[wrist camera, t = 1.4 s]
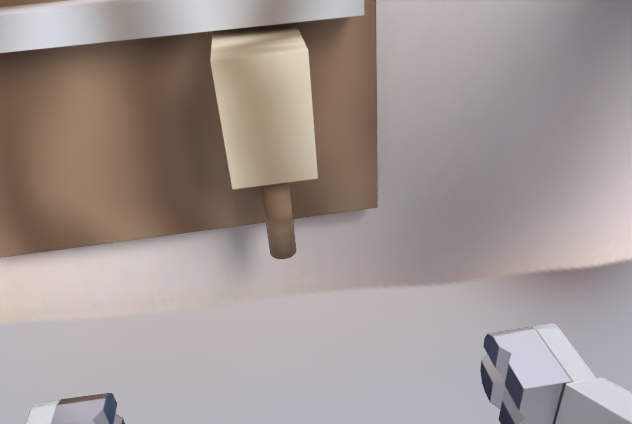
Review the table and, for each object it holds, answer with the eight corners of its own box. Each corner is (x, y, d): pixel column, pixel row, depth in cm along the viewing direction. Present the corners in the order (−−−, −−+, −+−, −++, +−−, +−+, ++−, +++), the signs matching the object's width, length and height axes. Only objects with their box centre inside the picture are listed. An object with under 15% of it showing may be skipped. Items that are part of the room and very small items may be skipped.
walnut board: (368, -51, 27) (387, -40, 24) (371, 194, 34) (386, 228, 31) (-105, -7, 25) (-153, 12, 22) (8, 242, 33) (-16, 283, 29)
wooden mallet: (295, 21, 27) (308, 50, 23) (311, 212, 33) (324, 262, 28) (212, 30, 26) (210, 61, 22) (244, 220, 32) (246, 273, 28)
